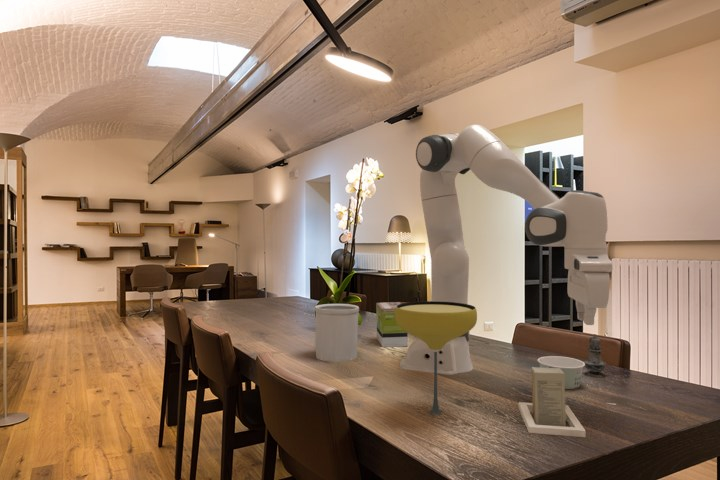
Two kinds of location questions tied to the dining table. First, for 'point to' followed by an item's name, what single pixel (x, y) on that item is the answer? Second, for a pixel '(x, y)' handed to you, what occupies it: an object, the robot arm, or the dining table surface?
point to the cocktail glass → (436, 326)
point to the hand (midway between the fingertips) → (585, 322)
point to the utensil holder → (336, 332)
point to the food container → (565, 368)
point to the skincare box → (548, 396)
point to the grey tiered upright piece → (594, 359)
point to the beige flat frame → (574, 430)
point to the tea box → (389, 326)
